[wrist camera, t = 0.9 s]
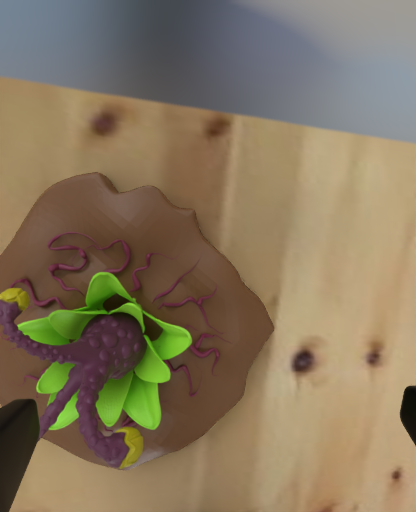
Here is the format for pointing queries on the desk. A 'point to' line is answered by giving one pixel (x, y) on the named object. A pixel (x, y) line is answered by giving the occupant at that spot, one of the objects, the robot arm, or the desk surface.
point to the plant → (122, 323)
